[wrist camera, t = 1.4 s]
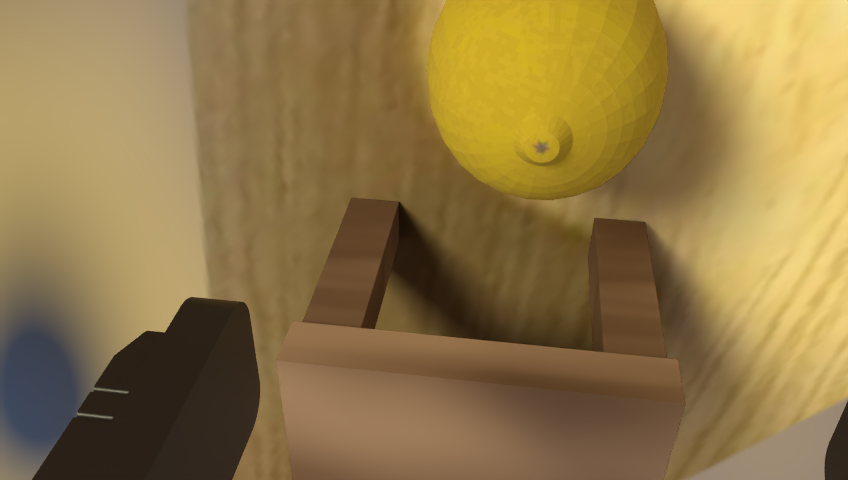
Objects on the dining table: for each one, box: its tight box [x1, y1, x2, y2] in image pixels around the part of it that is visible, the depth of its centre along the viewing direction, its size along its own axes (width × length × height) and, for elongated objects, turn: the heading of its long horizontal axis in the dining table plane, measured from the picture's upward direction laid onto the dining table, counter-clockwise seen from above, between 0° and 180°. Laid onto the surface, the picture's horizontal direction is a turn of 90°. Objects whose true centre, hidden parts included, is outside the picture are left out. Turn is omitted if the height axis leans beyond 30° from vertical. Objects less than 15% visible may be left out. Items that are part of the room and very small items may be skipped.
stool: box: [276, 198, 685, 480], centre depth 25 cm, size 10×10×8 cm
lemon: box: [427, 0, 668, 200], centre depth 19 cm, size 6×6×8 cm
